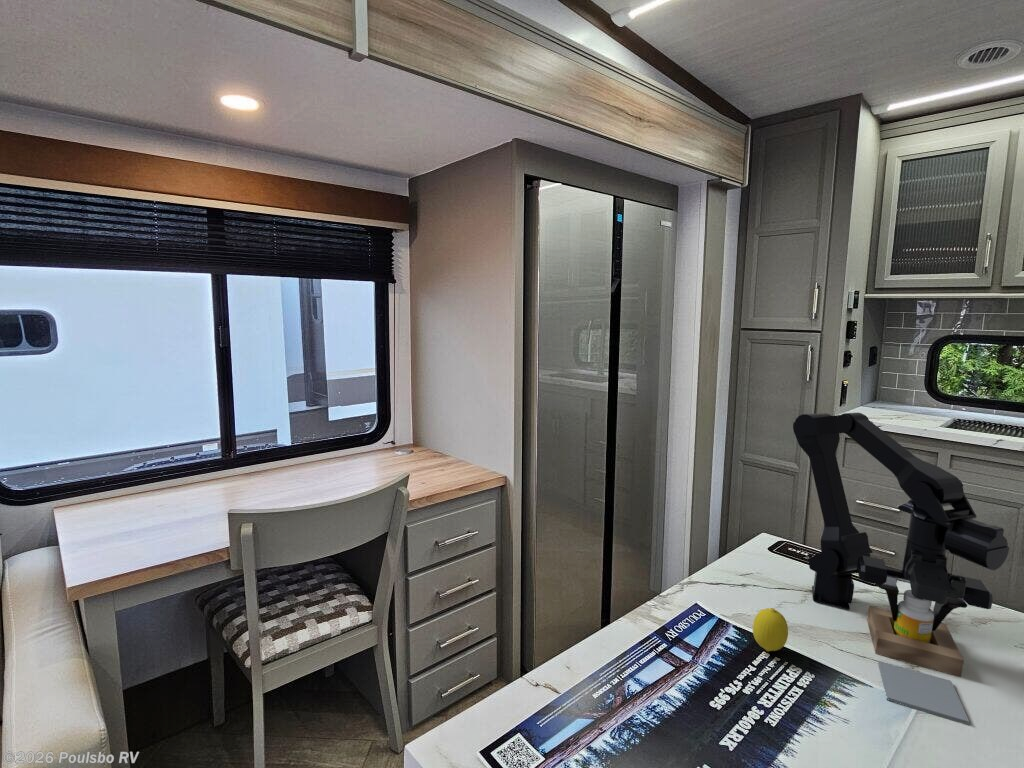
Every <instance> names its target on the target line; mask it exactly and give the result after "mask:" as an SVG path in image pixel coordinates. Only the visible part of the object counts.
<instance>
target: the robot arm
mask: <svg viewBox="0 0 1024 768" xmlns="http://www.w3.org/2000/svg"><path fill="white" fill-rule="evenodd" d="M792 423H793V424H792V429H793V433H794V435H795V439H796V442H797V444H798V445H799V447H800V448H801V449H802V450H803V452H804V453H805V454H806V455H807V457H808V459H809V463H810V467H811V471H812V475H813V480H814V484H815V489H816V492H817V497H818V502H819V506H820V510H821V514H822V519H823V523H824V524H823V525H824V528H823V531H822V533H821V538H820V543H819V544H820V552H819V553H816V554H814V555H812V556H810V557H808V558H807V560H808V567H809V569H810V570H811V571H813V572H814V581H813V585H812V586H811V592H812V593H811V595H812V601H814V602H815V603H819V604H822V605H823V604H824V605H828V606H830V607H831V606H833V607H836V608H840V609H843V610H848V611H849V610H850V609H851V607H850V605H851V604H852V603H853V599H854V598H853V597H854V591H855V583H854V579H853V576H852V575H853V574H857V575H858V578H859V580H861V581H863V582H866V583H870V584H874V585H877V587H878V588H879V589H881V590H884V591H885V593H886V595H887V600H888V601H887V602H888V605H889V610H891V614H892V618H893V621H896V618H897V605H898V603H899V601H898V597H899V593H900V590H899V587H898V585H897V583H898V582H902V583H908V584H910V590H911V593H912V595H913V596H914V597H915V598H917V599H921V600H923V599H925V600H929V601H932V602H934V605H933V610H932V611H933V613H934V621H933V626H932V630H933V631H935V630H936V629H937V627H938V626H939V625H940V624H941V623H943V621H944V620H945V618H947V616H948V615H949V614H950V613H951V612H952V611H953V610H955V609H959V608H962V609H966V608H967V607H968V606H972V607H976V608H981V609H985V610H991V609H992V606H993V600H994V599H993V594H992V592H991V591H990V590H989V588H988V587H987V586H986V584H985V583H984V582H983V581H982V580H981V579H977V578H972V577H969V576H962V575H958V574H957V575H955V574H953V573H950V572H948V568H947V561H948V558H947V551H948V552H949V553H950V554H951V555H953V556H955V557H957V558H961V559H962V560H966V561H967V562H970V563H973V564H975V565H978V566H980V567H982V568H985V569H987V570H991V571H996V570H998V569H1000V567H1002V565H1004V563H1005V561H1006V560H1007V557H1008V556H1009V555H1008V554H1009V553H1010V547H1009V546H1008V544H1009V543H1008V541H1007V540H1008V539H1007V538H1006V537H1005V536H1004V532H1005V529H1004V528H1003V527H1000V526H999V525H998V526H997V525H992V524H987V523H985V522H981V521H980V520H979V521H978V520H975V519H977V514H976V513H975V510H974V509H973V507H972V505H971V503H970V502H969V500H968V499H967V496H966V495H965V492H964V484H963V482H962V481H961V480H960V479H959V478H958V477H957V476H955V475H954V474H952V473H951V472H948V471H947V470H945V469H943V468H942V467H940V466H937V465H935V464H932V463H930V462H928V461H924V460H922V459H921V458H919V457H917V456H915V455H914V454H913V453H911V451H909V450H908V449H906V448H905V447H904V446H903V445H901V444H900V443H899V442H898V441H896V440H895V439H894V438H892V437H891V436H890V435H889V434H887V433H886V432H885V431H883V429H881V428H880V427H879V426H877V425H875V424H874V422H872V421H871V420H870V419H869V417H868V416H867V415H865V414H864V413H862V412H845V413H842V414H838V415H837V414H836V415H831V414H830V413H827V412H824V413H823V412H821V413H803V414H800V415H798V416H797V417H796V418H795V420H794V422H792ZM840 434H846V435H847V436H848V437H850V439H852V440H853V441H854V443H856V444H857V445H859V446H860V447H861V448H862V449H863V450H865V451H866V452H867V453H868V454H869V455H871V456H872V457H873V458H874V459H875V460H877V461H878V462H879V463H880V465H882V466H883V467H884V468H886V469H887V470H888V471H890V472H891V473H892V474H893V476H895V477H896V480H897V482H898V485H899V487H900V489H901V490H902V491H903V492H904V494H906V496H907V497H908V498H909V499H910V500H908V501H907V502H906V503H903V504H901V505H898V507H897V509H898V510H899V511H902V512H904V513H907V514H910V518H909V524H908V531H907V536H906V540H905V548H904V554H903V560H902V564H901V565H902V567H901V569H899V568H893V567H888V566H886V563H885V561H884V559H883V558H882V559H881V558H876V557H872V556H871V554H872V553H873V550H872V548H871V547H870V544H869V537H868V534H867V532H865V531H863V532H860V531H859V530H858V529H857V528H856V527H855V526H854V524H853V522H852V518H851V515H850V514H851V513H850V508H849V505H848V501H847V497H846V493H845V489H844V485H843V481H842V476H841V471H840V467H839V463H838V460H837V459H838V458H837V454H836V453H837V450H838V447H839V443H840V439H841V438H840ZM946 507H952V508H953V509H945V508H946Z"/></svg>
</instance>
